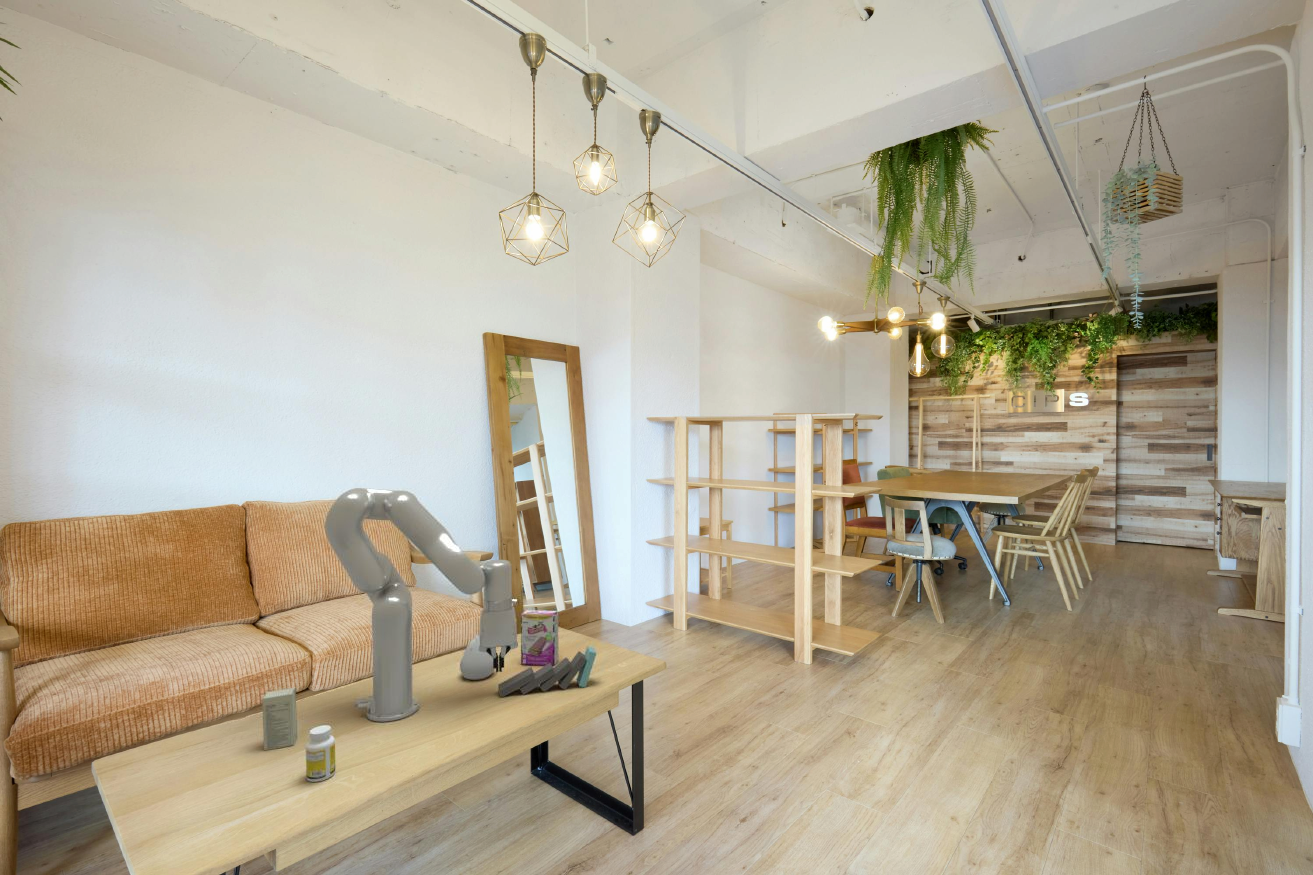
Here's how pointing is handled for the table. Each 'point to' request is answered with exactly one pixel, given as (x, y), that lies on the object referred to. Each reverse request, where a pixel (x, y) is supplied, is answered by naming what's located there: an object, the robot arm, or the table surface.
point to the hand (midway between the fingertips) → (498, 670)
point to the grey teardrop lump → (476, 662)
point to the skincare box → (279, 718)
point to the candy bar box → (539, 637)
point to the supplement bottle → (320, 754)
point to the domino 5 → (586, 667)
